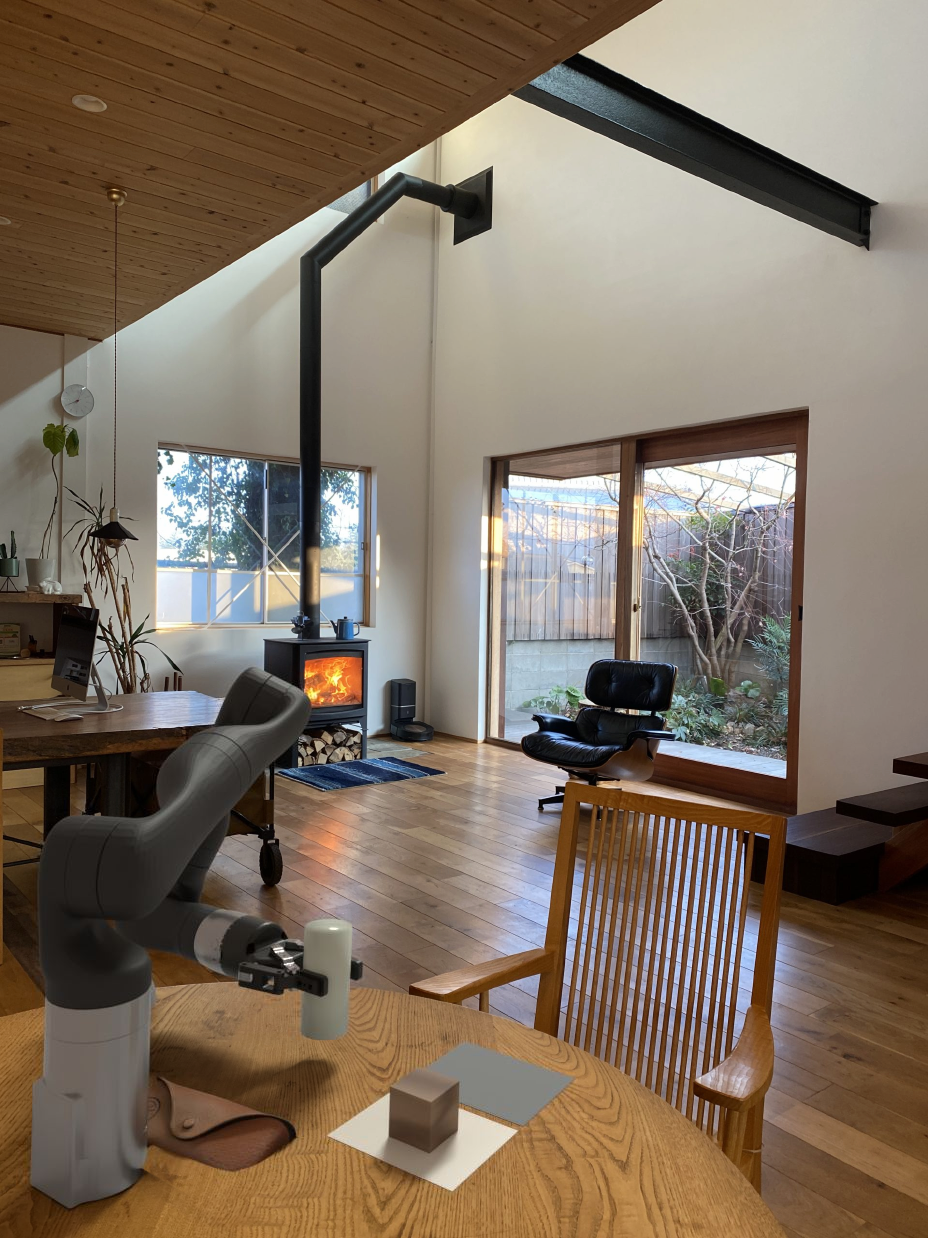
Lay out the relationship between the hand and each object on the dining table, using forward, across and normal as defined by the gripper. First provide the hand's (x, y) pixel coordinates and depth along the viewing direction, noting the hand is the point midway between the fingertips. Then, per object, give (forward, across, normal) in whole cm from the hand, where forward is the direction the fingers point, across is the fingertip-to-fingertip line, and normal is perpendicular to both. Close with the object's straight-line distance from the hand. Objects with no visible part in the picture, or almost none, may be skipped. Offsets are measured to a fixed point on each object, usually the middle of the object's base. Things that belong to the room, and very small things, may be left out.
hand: (343, 979), depth 106 cm
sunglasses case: (-2, +19, -12) cm, 22 cm away
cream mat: (+16, +6, -11) cm, 20 cm away
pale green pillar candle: (-3, 0, -6) cm, 7 cm away
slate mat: (+16, -7, -11) cm, 20 cm away
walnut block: (+16, +6, -10) cm, 20 cm away
